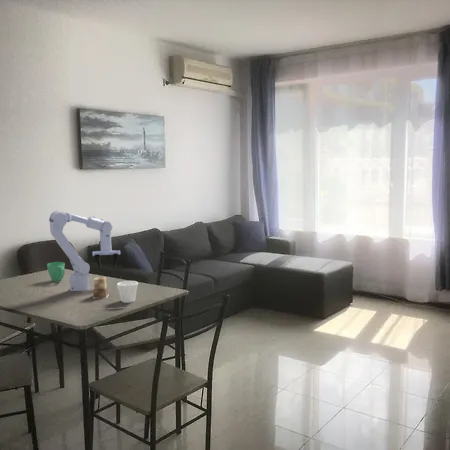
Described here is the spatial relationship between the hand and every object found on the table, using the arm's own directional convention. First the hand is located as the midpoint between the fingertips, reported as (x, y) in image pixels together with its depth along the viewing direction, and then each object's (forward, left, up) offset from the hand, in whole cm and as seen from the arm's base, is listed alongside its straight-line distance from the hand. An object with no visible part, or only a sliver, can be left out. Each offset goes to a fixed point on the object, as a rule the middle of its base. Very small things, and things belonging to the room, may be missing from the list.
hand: (107, 268), depth 277 cm
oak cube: (+1, -24, -5) cm, 24 cm away
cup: (+16, -34, -10) cm, 39 cm away
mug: (-31, +15, -10) cm, 36 cm away
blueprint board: (+4, -21, -10) cm, 24 cm away
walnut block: (+1, -24, -9) cm, 26 cm away
